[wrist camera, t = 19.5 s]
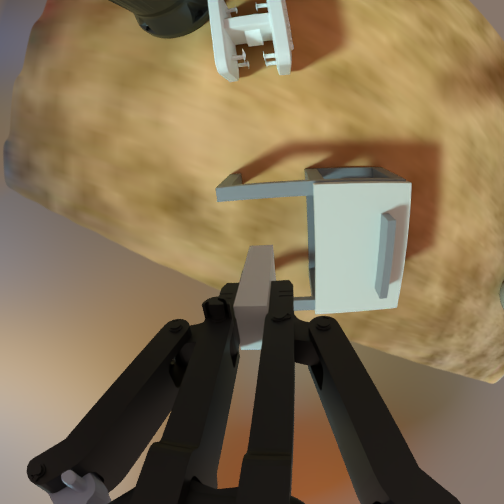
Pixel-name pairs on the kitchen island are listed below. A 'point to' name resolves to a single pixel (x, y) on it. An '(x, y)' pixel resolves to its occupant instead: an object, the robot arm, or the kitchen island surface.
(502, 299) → the fruit
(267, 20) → the cable organizer
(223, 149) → the kitchen island surface
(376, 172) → the housing
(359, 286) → the lid
